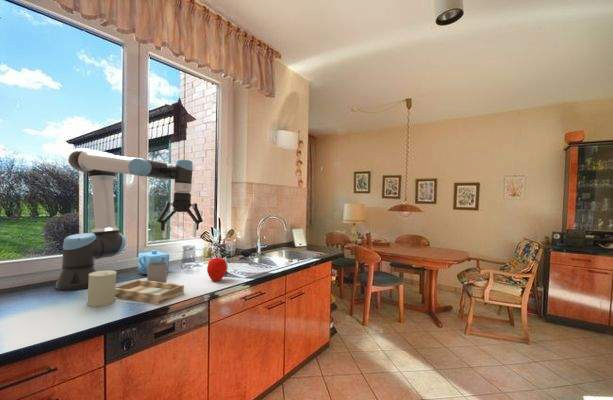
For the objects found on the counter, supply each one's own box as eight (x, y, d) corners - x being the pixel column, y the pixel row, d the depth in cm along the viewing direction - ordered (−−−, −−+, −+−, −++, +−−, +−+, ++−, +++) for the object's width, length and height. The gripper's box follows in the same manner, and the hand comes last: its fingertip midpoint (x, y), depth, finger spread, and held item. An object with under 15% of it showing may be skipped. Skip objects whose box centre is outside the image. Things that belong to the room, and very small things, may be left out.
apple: (215, 284, 144) (216, 259, 144) (202, 280, 149) (203, 257, 149) (230, 280, 153) (231, 257, 153) (216, 277, 158) (217, 254, 158)
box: (110, 296, 120) (110, 288, 120) (139, 286, 134) (139, 279, 134) (158, 304, 114) (159, 295, 114) (183, 293, 129) (184, 285, 129)
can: (93, 308, 107) (95, 276, 107) (82, 302, 112) (84, 272, 112) (120, 301, 115) (121, 271, 115) (108, 296, 120) (110, 268, 120)
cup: (158, 287, 135) (159, 266, 135) (142, 285, 136) (143, 264, 137) (170, 282, 143) (171, 262, 143) (155, 281, 145) (156, 261, 145)
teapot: (132, 274, 155) (133, 250, 155) (161, 269, 168) (162, 247, 168) (149, 280, 145) (150, 255, 145) (178, 275, 158) (179, 251, 158)
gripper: (155, 190, 125) (152, 239, 125) (211, 194, 141) (208, 237, 141) (151, 190, 131) (148, 237, 130) (205, 193, 147) (202, 235, 147)
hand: (179, 237), depth 136 cm, fingers open, 13 cm apart
